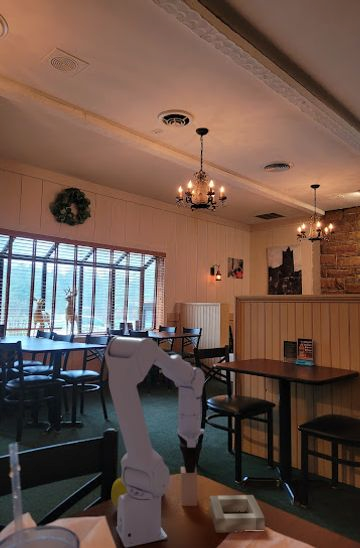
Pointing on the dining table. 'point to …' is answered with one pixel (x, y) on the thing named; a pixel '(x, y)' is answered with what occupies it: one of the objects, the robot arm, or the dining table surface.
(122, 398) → the robot arm
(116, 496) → the lemon
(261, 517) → the collar
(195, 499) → the peg
